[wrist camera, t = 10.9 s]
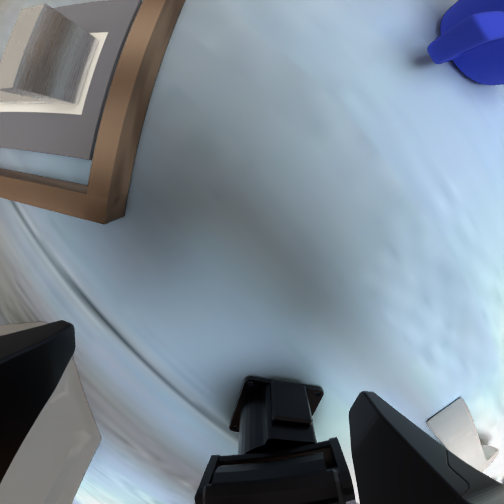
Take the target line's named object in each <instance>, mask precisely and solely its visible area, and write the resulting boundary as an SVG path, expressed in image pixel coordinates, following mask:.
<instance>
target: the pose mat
mask: <svg viewBox="0 0 504 504" xmlns="http://www.w3.org/2000/svg"><path fill="white" fill-rule="evenodd" d="M141 3H142V0H109V1H98V2H89V3H82V4H75V5H69V6H63V7H58V8H53V9H54V10H56V11H57V12H59V13H60V14H62V15H63V16H65V17H66V18H68V19H69V20H71V21H72V22H74V23H75V24H77V25H78V26H80V27H81V28H82V29H84V30H85V31H87V32H88V33H89V34H91V35H92V36H94V37H95V38H96V39H98V40H99V42H98V45H97V48H96V50H95V53H94V56H93V59H92V61H91V64H90V67H89V70H88V73H87V77H86V80H85V83H84V86H83V90H82V93H81V97H80V100H79V104H78V105H70V104H0V147H2V148H10V149H19V150H27V151H34V152H42V153H49V154H56V155H62V156H69V157H75V158H81V159H87V160H92V156H93V151H94V146H95V142H96V137H97V133H98V128H99V124H100V120H101V116H102V112H103V109H104V105H105V101H106V98H107V94H108V91H109V87H110V84H111V81H112V78H113V75H114V72H115V69H116V66H117V63H118V60H119V57H120V54H121V51H122V49H123V46H124V43H125V41H126V38H127V35H128V33H129V30H130V28H131V26H132V23H133V21H134V18H135V16H136V14H137V12H138V9H139V7H140V5H141Z"/></svg>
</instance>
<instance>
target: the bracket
mask: <svg viewBox="0 0 504 504" xmlns="http://www.w3.org/2000/svg"><path fill="white" fill-rule="evenodd" d="M98 42H99V40H98V39H96V38H95V37H94V36H92V35H91V34H89V33H88V32H87V31H85V30H84V29H82V28H81V27H80V26H78V25H77V24H75V23H74V22H72V21H71V20H69V19H68V18H66V17H65V16H63V15H62V14H60V13H59V12H57V11H56V10H54V9H53V8H51V7H50V6H48V5H47V4H45V3H44V4H40V5H36V6H32V7H29V8H25V9H22V10H21V12H20V15H19V17H18V19H17V21H16V23H15V26H14V28H13V30H12V33H11V35H10V38H9V40H8V43H7V45H6V48H5V51H4V53H3V56H2V59H1V62H0V104H70V105H78V104H79V100H80V97H81V93H82V90H83V86H84V83H85V80H86V77H87V73H88V70H89V67H90V64H91V61H92V59H93V56H94V53H95V50H96V48H97V45H98Z"/></svg>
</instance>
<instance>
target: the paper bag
mask: <svg viewBox="0 0 504 504" xmlns="http://www.w3.org/2000/svg"><path fill="white" fill-rule="evenodd" d="M45 324H47V323H45V322H31V323H20V324H7V325H0V336H2V335H6V334H10V333H14V332H18V331H22V330H25V329H29V328H33V327H37V326H41V325H45ZM100 441H101V435H100V433H99V430H98V428H97V426H96V423H95V421H94V418H93V415H92V413H91V410H90V408H89V405H88V402H87V399H86V396H85V394H84V391H83V388H82V385H81V382H80V379H79V375H78V372H77V369H76V366H75V362H74V359H73V356H72V358H71V359H70V361H69V363H68V365H67V367H66V369H65V371H64V373H63V375H62V377H61V379H60V381H59V383H58V385H57V387H56V389H55V390H54V392H53V394H52V395H51V397H50V398H49V400H48V402H47V403H46V405H45V406H44V408H43V410H42V411H41V413H40V414H39V416H38V418H37V419H36V421H35V423H34V424H33V426H32V428H31V429H30V431H29V433H28V434H27V436H26V438H25V439H24V441H23V443H22V445H21V446H20V448H19V450H18V452H17V454H16V455H15V457H14V459H13V461H12V463H11V465H10V466H9V468H8V470H7V472H6V474H5V476H4V478H3V480H2V482H1V484H0V504H72V502H73V499H74V497H75V495H76V493H77V491H78V488H79V486H80V484H81V482H82V480H83V477H84V475H85V473H86V471H87V469H88V467H89V464H90V462H91V460H92V458H93V456H94V454H95V452H96V450H97V448H98V446H99V444H100Z"/></svg>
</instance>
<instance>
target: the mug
mask: <svg viewBox="0 0 504 504" xmlns="http://www.w3.org/2000/svg"><path fill="white" fill-rule="evenodd" d="M440 31H441V36H439V37H438V38H437V39H435V40H434V41H433V42H432V43H431V44H430V45H429V46H428V48H427V50H428V53H429V55H430V57H431V59H432V60H433V61H434V62H435V63H436V64H441V63H444V62H447V61H450V60H452V61H453V62H454V63H455V65H456V66H457V67H458V68H459V69H460V70H461V71H462V72H463V73H464V74H465V75H466V76H468V77H469V78H470V79H472V80H474V81H476V82H478V83H481V84H485V85H500V84H504V0H458V1H457V2H456V3H455V4H454V5H453V6H452V7H451V8H450V9H449V10H448V11H447V12H446V13H445V14H444V16H443V18H442V21H441V26H440Z"/></svg>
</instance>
